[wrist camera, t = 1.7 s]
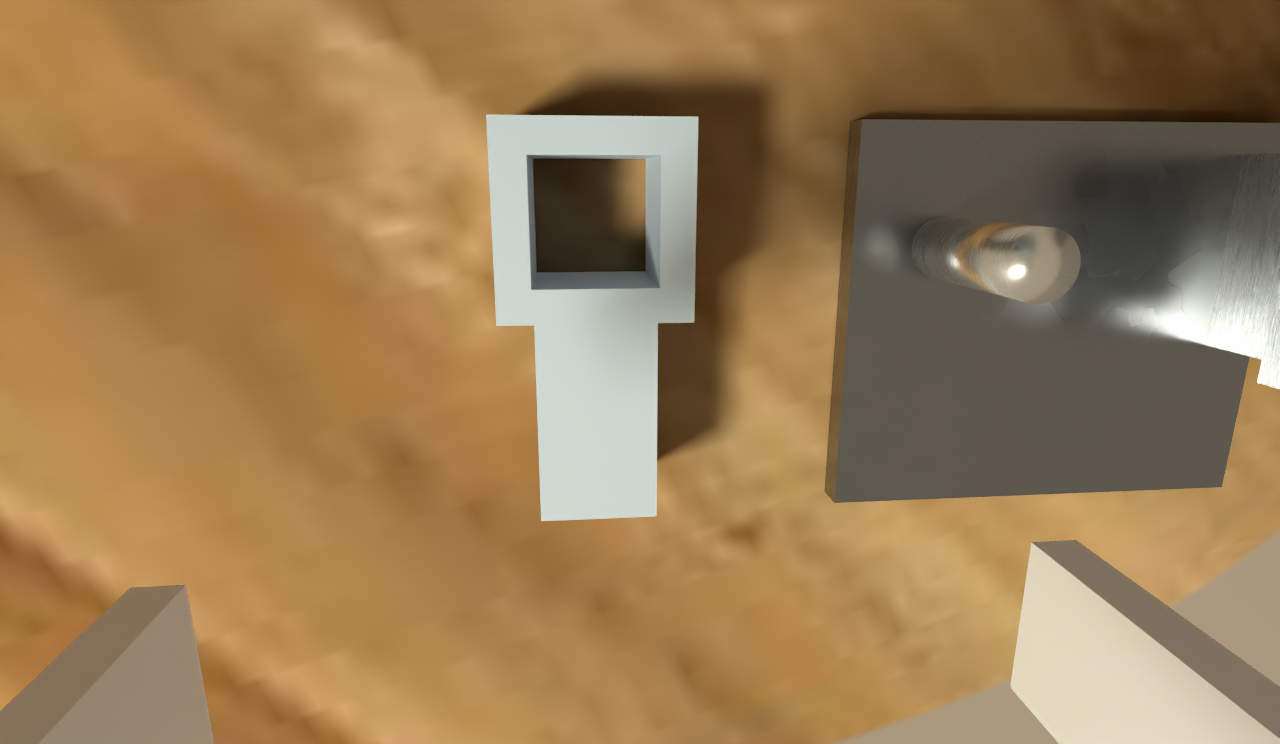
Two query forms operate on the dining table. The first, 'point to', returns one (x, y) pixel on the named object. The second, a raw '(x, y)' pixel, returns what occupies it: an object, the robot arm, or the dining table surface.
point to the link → (595, 307)
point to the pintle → (998, 257)
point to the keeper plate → (1053, 308)
